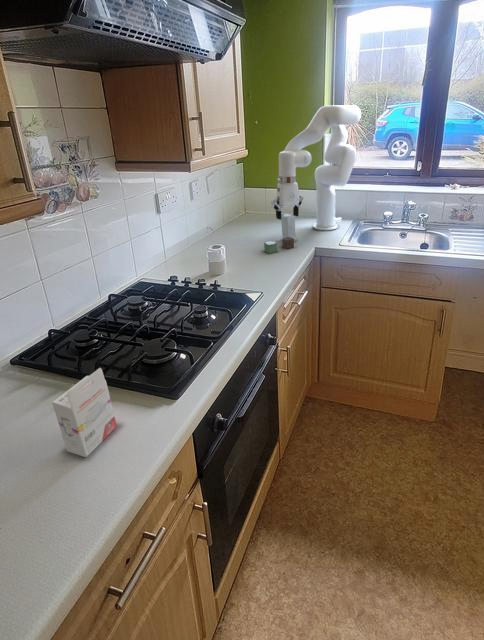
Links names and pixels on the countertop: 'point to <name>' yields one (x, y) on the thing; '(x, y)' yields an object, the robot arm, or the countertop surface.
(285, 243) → the walnut block
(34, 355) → the countertop surface
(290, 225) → the cosmetic box
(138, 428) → the countertop surface
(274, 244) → the sage block
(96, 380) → the ink cartridge box
